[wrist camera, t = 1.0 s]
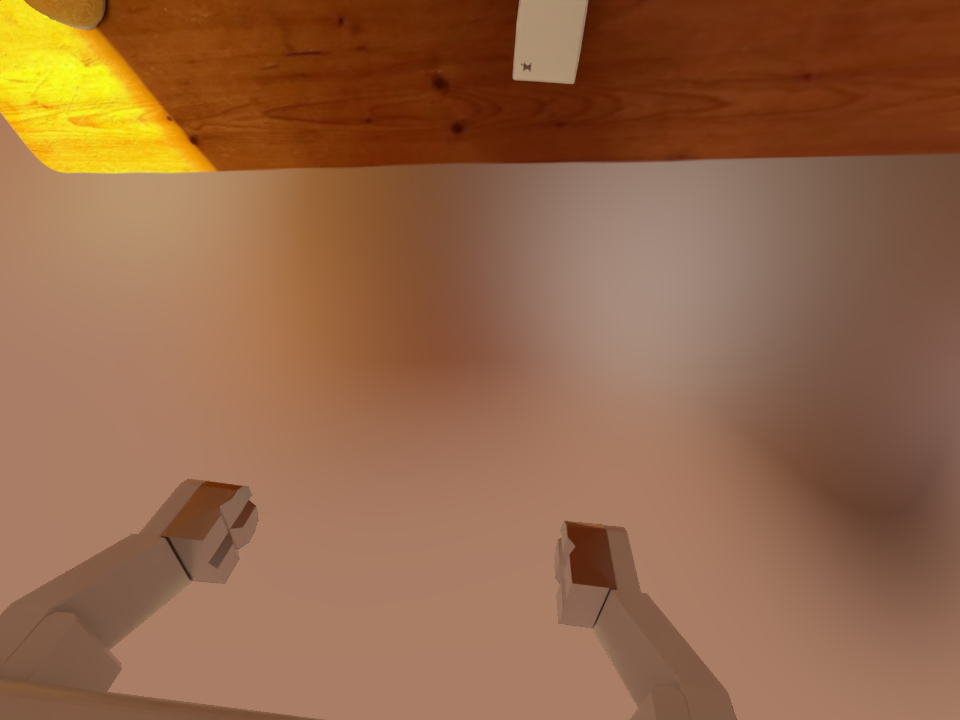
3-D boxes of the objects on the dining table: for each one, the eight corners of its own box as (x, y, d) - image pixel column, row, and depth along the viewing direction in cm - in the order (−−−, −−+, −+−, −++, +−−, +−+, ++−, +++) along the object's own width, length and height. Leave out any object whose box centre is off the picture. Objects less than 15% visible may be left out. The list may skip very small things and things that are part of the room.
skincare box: (577, 48, 37) (574, 88, 28) (527, 44, 37) (509, 82, 29) (594, -51, 32) (596, -37, 24) (537, -55, 33) (519, -43, 24)
